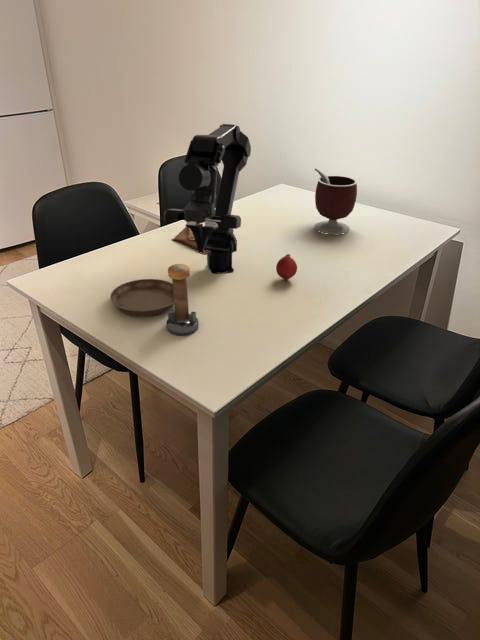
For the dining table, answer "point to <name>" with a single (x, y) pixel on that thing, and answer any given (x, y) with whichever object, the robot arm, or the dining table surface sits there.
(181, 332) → the tribrach base
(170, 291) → the plant saucer
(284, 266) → the onion
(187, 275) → the brown capped cylinder
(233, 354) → the dining table surface
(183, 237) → the sunglasses case
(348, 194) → the mate gourd
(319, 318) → the dining table surface
